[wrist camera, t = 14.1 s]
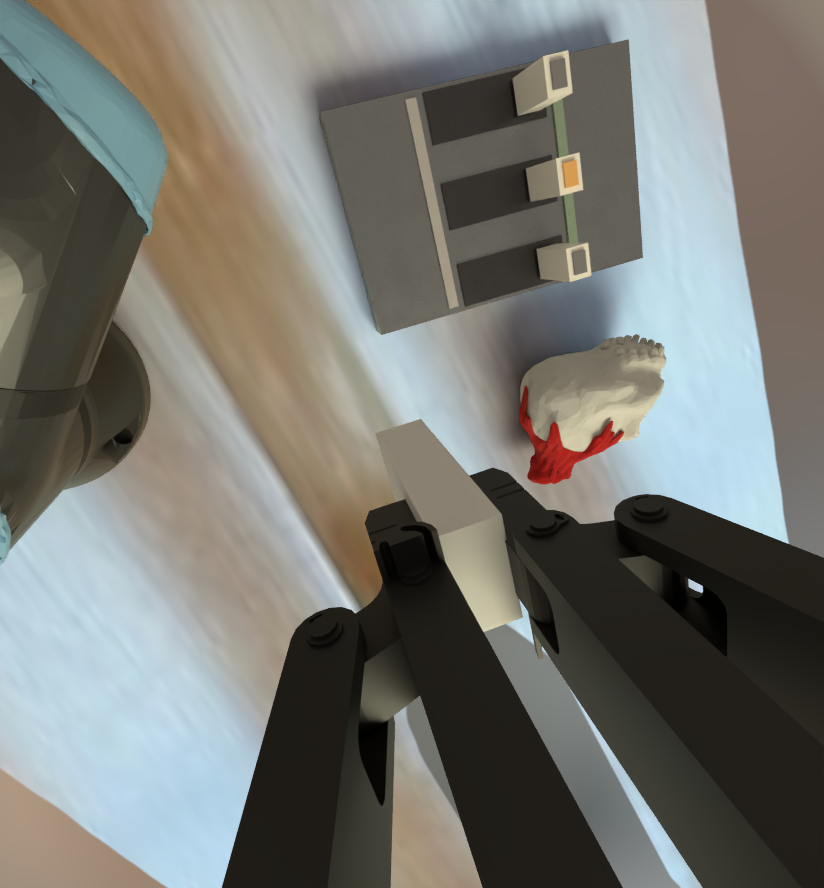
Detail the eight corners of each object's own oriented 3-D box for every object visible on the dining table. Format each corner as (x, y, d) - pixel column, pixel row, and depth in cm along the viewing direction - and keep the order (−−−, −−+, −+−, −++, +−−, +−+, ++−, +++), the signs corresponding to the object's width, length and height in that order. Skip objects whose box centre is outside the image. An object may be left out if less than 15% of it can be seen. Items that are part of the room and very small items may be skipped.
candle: (633, 329, 50) (574, 467, 56) (528, 304, 46) (478, 453, 52) (698, 359, 42) (622, 515, 48) (578, 331, 38) (512, 503, 44)
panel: (377, 331, 45) (381, 335, 43) (319, 118, 38) (321, 110, 36) (628, 257, 48) (644, 257, 46) (613, 48, 41) (630, 38, 39)
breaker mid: (530, 201, 41) (561, 195, 37) (525, 168, 41) (557, 158, 36) (551, 196, 42) (584, 189, 37) (547, 163, 41) (581, 151, 36)
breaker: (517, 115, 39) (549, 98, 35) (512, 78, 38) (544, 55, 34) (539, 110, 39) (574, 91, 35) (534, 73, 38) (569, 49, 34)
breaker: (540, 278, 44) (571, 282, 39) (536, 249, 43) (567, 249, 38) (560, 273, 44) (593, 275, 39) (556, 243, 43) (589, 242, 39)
